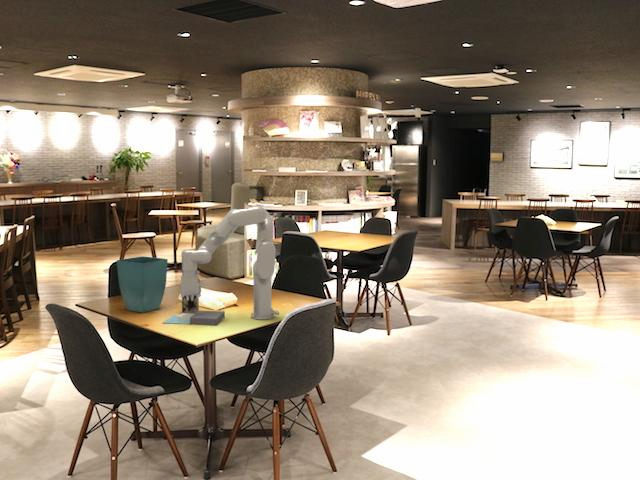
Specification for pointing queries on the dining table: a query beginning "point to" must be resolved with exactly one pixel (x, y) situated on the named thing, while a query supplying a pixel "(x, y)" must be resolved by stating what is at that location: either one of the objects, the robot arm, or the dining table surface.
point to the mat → (175, 320)
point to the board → (207, 317)
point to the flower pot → (142, 282)
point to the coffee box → (190, 311)
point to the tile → (184, 317)
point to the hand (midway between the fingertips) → (191, 307)
